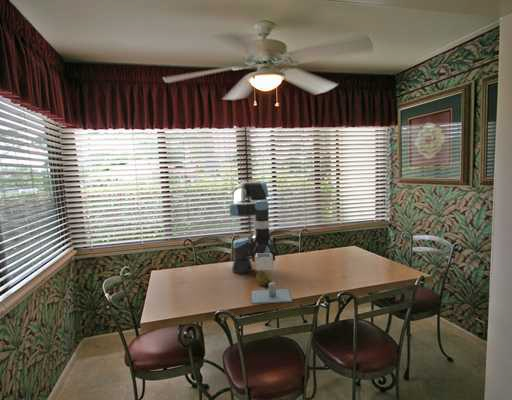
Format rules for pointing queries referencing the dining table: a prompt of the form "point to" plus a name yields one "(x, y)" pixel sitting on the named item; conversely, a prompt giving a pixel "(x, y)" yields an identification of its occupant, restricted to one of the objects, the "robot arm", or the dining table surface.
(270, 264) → the grey open box
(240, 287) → the dining table surface
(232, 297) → the dining table surface
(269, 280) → the potato
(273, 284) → the vent plate
